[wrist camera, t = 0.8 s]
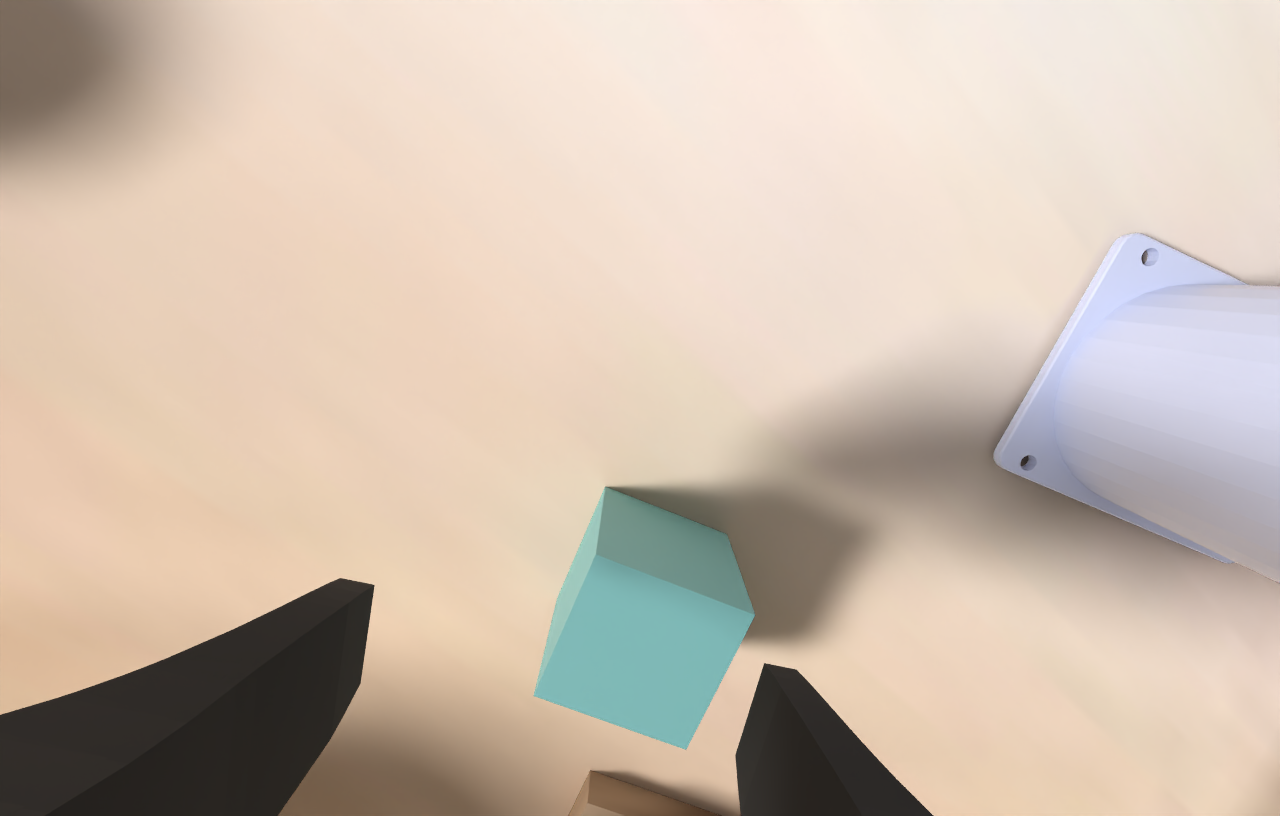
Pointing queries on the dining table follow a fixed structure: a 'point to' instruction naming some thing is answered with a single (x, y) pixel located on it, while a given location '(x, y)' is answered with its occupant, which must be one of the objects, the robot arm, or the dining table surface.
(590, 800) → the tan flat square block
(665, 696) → the teal block
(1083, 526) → the dining table surface
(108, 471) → the dining table surface
